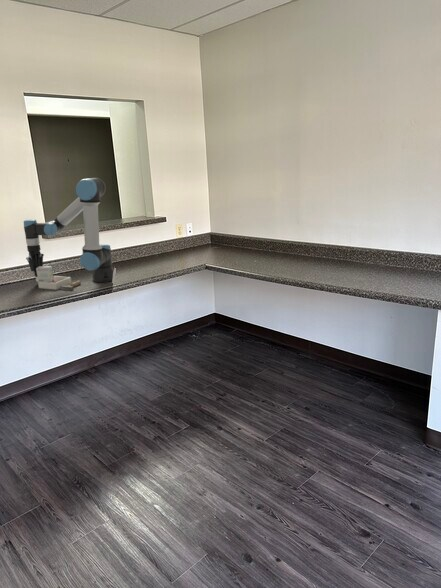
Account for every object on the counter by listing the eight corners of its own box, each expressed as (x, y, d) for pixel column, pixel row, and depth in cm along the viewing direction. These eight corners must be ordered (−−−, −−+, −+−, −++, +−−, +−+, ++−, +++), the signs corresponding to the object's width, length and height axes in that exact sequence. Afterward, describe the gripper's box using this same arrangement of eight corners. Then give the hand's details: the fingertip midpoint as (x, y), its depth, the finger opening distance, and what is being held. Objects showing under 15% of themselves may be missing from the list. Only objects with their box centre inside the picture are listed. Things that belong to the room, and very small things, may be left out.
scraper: (74, 283, 282) (73, 280, 281) (84, 284, 279) (84, 281, 278) (60, 289, 270) (60, 285, 270) (71, 290, 268) (70, 286, 267)
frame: (71, 283, 283) (71, 277, 282) (56, 289, 270) (55, 283, 269) (55, 281, 287) (54, 275, 286) (38, 287, 274) (38, 281, 273)
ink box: (54, 283, 283) (52, 265, 280) (52, 285, 279) (49, 267, 275) (41, 283, 283) (38, 265, 279) (38, 286, 278) (35, 267, 275)
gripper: (36, 242, 283) (41, 278, 290) (20, 246, 271) (26, 283, 278) (45, 243, 280) (50, 279, 287) (30, 247, 268) (36, 284, 275)
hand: (38, 281), depth 283 cm, fingers closed
